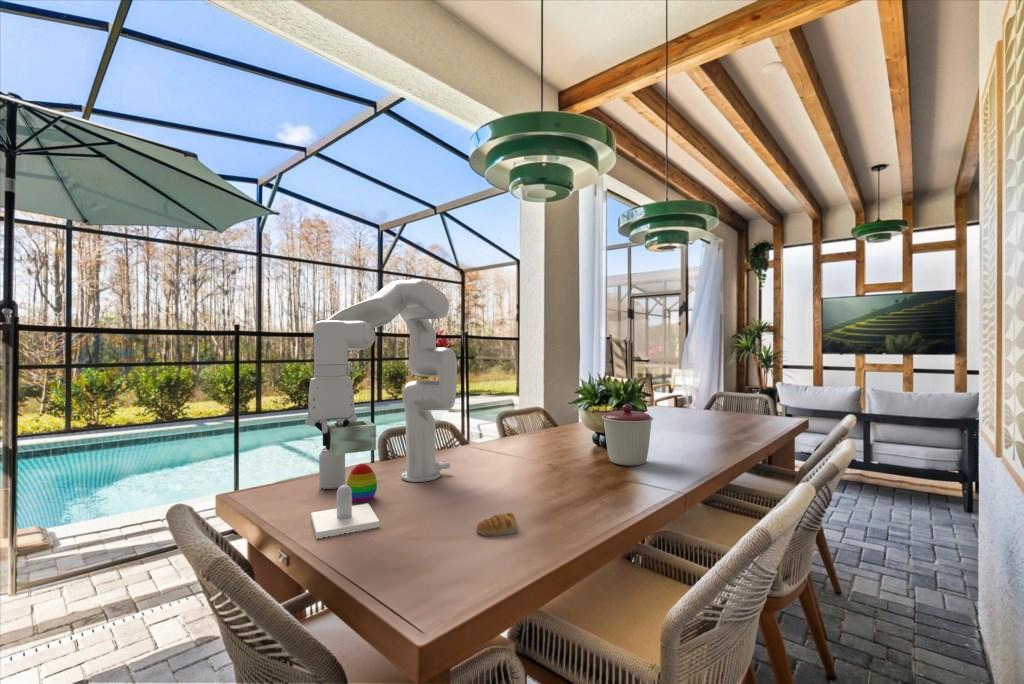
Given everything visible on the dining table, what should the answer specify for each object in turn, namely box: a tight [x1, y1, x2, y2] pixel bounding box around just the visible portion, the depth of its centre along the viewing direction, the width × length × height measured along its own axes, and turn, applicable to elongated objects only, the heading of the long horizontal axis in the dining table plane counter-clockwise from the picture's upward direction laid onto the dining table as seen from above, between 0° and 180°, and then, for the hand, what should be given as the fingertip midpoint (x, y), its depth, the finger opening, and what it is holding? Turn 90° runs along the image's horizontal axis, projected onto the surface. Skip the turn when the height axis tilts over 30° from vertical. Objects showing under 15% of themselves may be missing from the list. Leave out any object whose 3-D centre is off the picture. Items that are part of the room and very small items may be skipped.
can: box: [318, 447, 346, 490], centre depth 145 cm, size 8×8×12 cm
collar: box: [327, 419, 377, 455], centre depth 115 cm, size 10×10×6 cm
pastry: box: [476, 512, 519, 537], centre depth 110 cm, size 9×7×4 cm
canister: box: [601, 403, 654, 467], centre depth 171 cm, size 18×18×21 cm
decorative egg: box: [346, 463, 378, 503], centre depth 133 cm, size 8×8×10 cm
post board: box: [310, 484, 380, 540], centre depth 116 cm, size 14×14×9 cm
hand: (332, 447), depth 113 cm, fingers closed on collar, 1 cm apart
